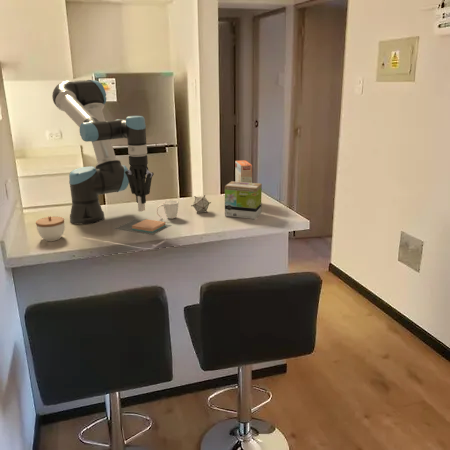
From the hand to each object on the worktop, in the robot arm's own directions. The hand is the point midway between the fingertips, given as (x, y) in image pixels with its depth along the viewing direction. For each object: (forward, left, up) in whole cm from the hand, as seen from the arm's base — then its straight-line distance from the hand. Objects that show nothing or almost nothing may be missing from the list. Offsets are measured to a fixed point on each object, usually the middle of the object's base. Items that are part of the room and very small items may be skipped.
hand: (141, 210), depth 200 cm
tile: (-2, 0, -6) cm, 7 cm away
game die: (+11, +31, -8) cm, 34 cm away
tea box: (+31, +35, -8) cm, 48 cm away
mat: (0, 0, -8) cm, 8 cm away
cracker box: (+23, +53, -8) cm, 58 cm away
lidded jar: (-26, -26, -8) cm, 38 cm away
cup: (+3, +15, -8) cm, 17 cm away
